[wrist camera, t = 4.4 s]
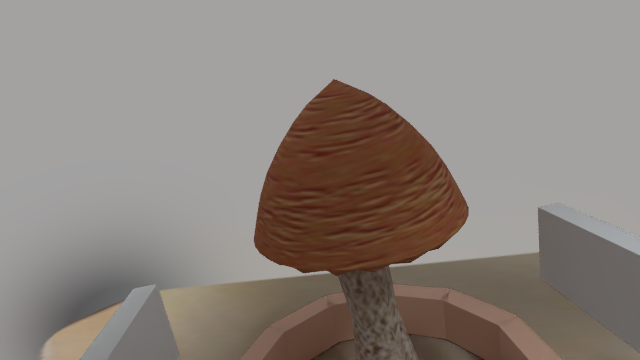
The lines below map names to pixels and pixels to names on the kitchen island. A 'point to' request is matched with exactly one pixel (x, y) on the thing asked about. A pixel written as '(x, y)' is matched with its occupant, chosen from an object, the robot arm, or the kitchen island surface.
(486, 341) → the ring
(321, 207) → the mushroom
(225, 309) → the kitchen island surface
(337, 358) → the kitchen island surface
